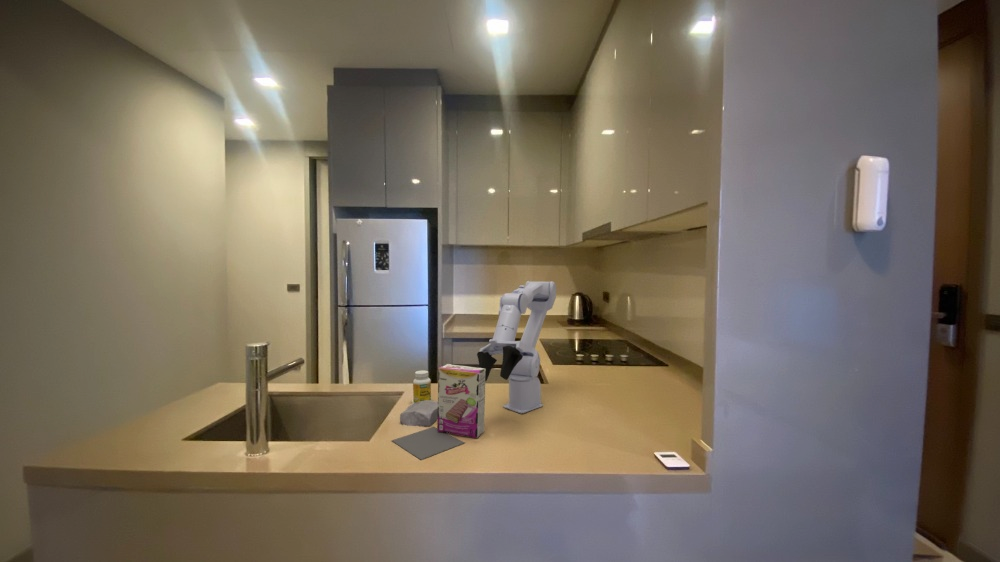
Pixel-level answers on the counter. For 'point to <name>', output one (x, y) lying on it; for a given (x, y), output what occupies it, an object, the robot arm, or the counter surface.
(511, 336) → the robot arm
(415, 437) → the mat
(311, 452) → the counter surface
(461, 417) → the candy bar box
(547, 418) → the counter surface
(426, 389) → the supplement bottle
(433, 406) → the stone block
